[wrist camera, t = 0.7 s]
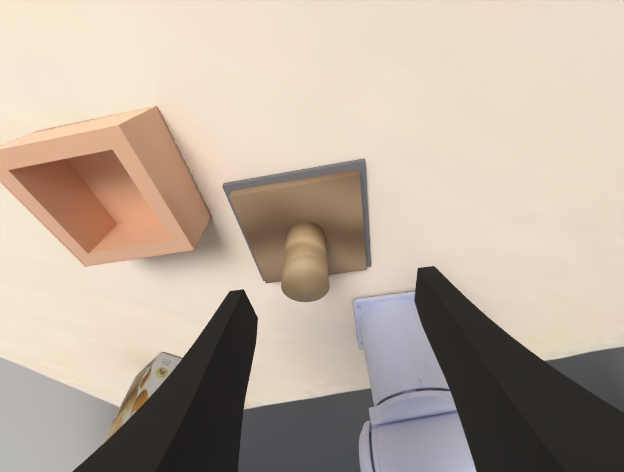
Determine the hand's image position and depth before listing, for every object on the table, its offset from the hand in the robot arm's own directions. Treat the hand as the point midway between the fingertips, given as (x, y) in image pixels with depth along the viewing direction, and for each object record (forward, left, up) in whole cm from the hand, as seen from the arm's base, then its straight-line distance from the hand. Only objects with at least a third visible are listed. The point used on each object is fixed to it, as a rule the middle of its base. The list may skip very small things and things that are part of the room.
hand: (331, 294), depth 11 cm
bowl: (+3, +13, -10) cm, 17 cm away
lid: (-4, +2, -10) cm, 10 cm away
